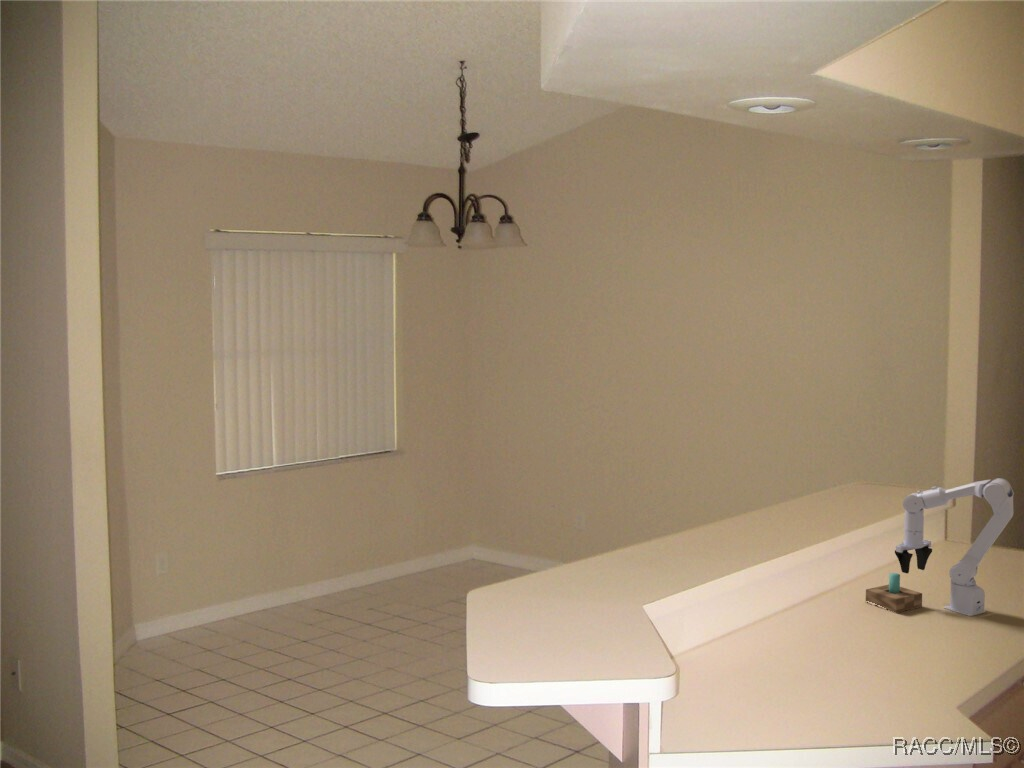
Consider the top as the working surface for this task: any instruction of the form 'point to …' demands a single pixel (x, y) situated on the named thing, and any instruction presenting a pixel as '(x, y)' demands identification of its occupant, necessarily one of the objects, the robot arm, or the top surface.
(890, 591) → the peg
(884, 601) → the socket block
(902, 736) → the top surface
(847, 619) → the top surface
